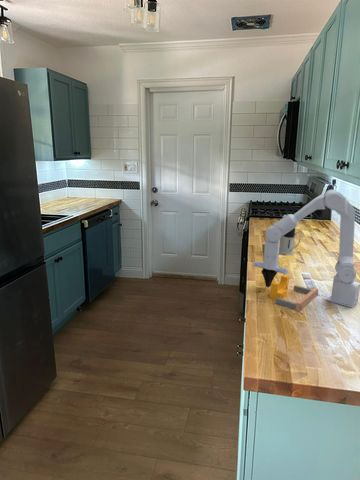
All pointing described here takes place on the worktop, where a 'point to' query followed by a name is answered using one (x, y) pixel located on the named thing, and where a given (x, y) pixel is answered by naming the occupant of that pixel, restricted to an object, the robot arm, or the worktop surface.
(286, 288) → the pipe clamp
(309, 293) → the stop frame
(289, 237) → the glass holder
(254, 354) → the worktop surface
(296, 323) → the worktop surface
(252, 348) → the worktop surface
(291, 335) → the worktop surface
